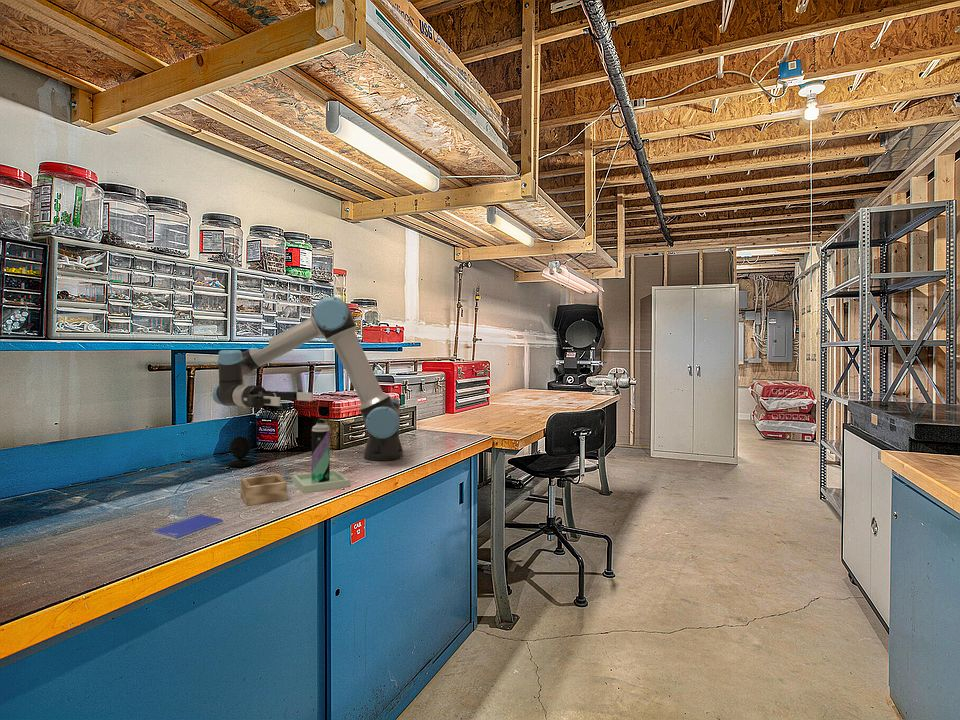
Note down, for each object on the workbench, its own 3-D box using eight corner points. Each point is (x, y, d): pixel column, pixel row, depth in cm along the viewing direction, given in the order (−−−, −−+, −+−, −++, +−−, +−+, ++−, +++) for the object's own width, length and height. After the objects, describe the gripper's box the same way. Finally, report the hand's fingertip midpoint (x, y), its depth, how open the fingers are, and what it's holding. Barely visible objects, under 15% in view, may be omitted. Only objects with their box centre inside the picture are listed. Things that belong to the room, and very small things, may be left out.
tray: (335, 476, 169) (335, 469, 169) (349, 486, 157) (349, 479, 157) (292, 481, 161) (292, 475, 161) (303, 493, 150) (303, 486, 150)
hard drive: (176, 536, 113) (223, 519, 124) (151, 530, 116) (199, 513, 127) (176, 543, 113) (223, 525, 124) (151, 537, 116) (199, 520, 127)
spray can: (308, 481, 159) (308, 418, 159) (324, 478, 163) (324, 417, 162) (316, 485, 155) (317, 420, 155) (332, 482, 159) (333, 419, 159)
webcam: (256, 463, 182) (257, 435, 182) (241, 467, 175) (241, 437, 175) (239, 462, 184) (239, 435, 185) (223, 466, 177) (223, 437, 177)
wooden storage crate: (278, 490, 152) (278, 474, 151) (286, 500, 143) (286, 482, 143) (240, 495, 146) (240, 478, 146) (246, 505, 137) (246, 487, 137)
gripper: (280, 403, 183) (324, 406, 174) (217, 412, 161) (264, 416, 152) (279, 382, 183) (324, 384, 174) (216, 388, 161) (263, 391, 151)
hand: (296, 399), depth 163 cm, fingers open, 13 cm apart
